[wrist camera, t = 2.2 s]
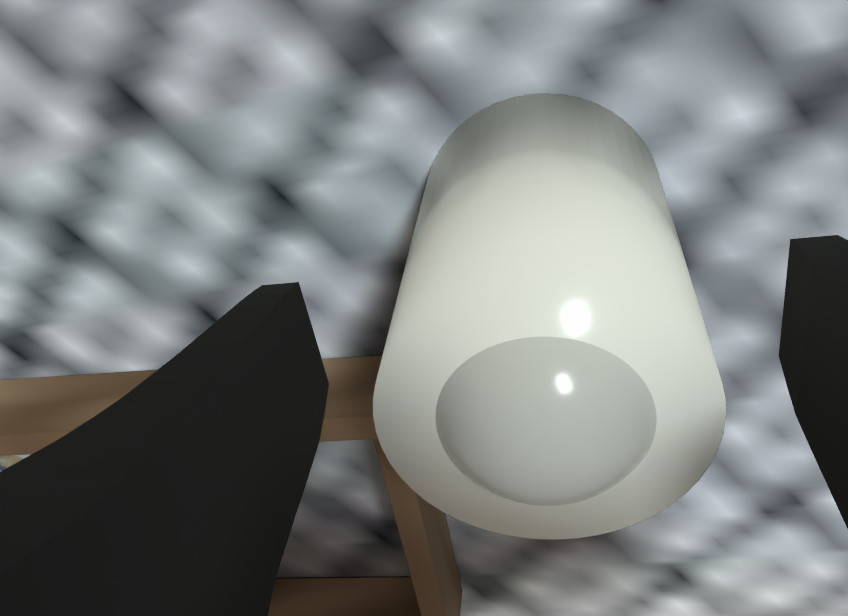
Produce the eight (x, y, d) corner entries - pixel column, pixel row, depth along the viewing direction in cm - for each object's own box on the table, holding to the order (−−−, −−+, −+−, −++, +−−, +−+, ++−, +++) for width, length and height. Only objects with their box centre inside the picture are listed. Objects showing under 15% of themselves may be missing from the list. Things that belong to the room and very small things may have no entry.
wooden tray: (409, 353, 17) (396, 415, 16) (461, 590, 22) (456, 658, 20) (-197, 392, 20) (-261, 448, 19) (-42, 594, 25) (-82, 653, 23)
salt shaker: (660, 77, 13) (752, 303, 8) (662, 295, 16) (731, 585, 10) (406, 110, 14) (324, 333, 9) (443, 311, 17) (398, 588, 11)
